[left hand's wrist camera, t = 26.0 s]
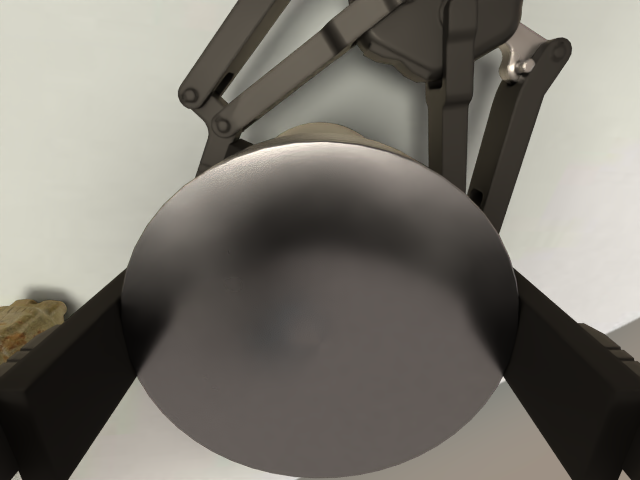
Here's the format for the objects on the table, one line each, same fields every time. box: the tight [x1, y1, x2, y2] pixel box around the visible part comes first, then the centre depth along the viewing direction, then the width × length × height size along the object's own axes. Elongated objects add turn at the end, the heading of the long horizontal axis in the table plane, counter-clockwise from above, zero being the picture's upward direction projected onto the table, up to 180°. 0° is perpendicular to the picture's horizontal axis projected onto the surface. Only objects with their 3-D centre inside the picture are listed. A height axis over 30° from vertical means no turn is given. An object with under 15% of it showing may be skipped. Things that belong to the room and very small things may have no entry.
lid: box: [121, 132, 519, 478], centre depth 11 cm, size 11×11×2 cm
